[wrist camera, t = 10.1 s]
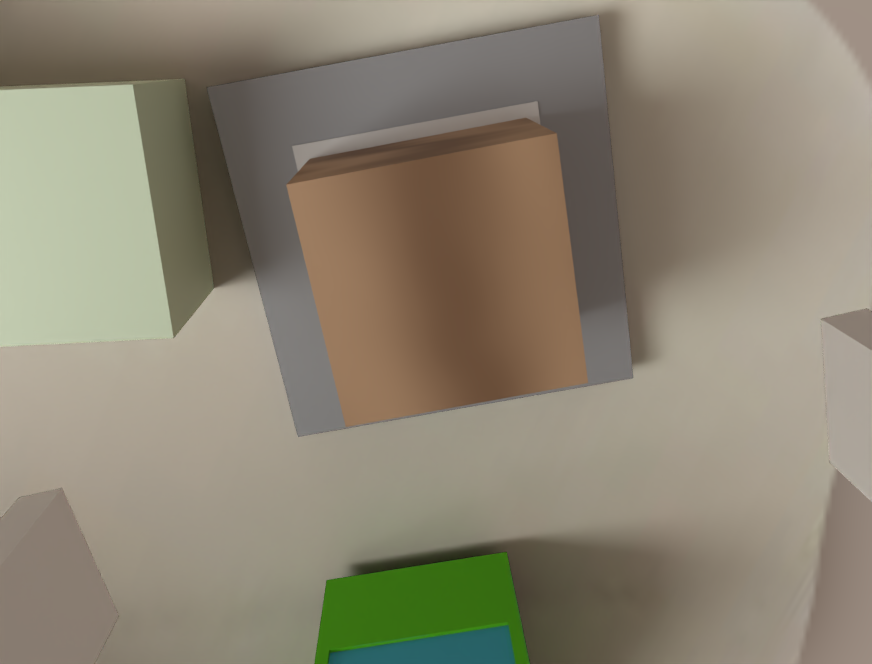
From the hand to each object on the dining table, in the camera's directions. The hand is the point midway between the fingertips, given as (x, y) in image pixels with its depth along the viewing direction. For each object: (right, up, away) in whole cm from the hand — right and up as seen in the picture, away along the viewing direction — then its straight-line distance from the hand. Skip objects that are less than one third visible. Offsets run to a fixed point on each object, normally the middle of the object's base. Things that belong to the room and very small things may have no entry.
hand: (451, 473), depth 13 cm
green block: (-13, +8, +17) cm, 23 cm away
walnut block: (0, +6, +16) cm, 17 cm away
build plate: (0, +6, +17) cm, 19 cm away
